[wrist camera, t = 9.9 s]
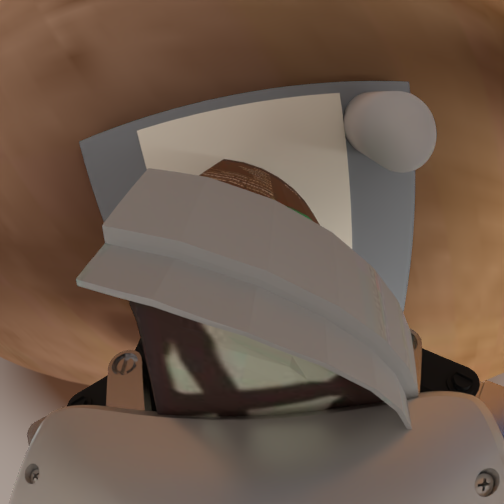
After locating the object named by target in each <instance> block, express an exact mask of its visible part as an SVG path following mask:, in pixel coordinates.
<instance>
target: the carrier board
mask: <svg viewBox="0 0 504 504" xmlns="http://www.w3.org/2000/svg"><path fill="white" fill-rule="evenodd" d="M436 137H437V131H436V124H435V121H434V118H433V115H432V113H431V111H430V110H429V108H428V107H427V106H426V104H425V103H424V102H423V101H422V100H420V99H419V98H418V97H416V96H414V95H413V94H410V86H409V82H403V81H349V82H329V83H316V84H305V85H295V86H287V87H279V88H271V89H265V90H258V91H252V92H246V93H241V94H235V95H230V96H225V97H220V98H216V99H211V100H207V101H202V102H198V103H194V104H190V105H186V106H182V107H179V108H175V109H171V110H168V111H164V112H161V113H157V114H154V115H151V116H148V117H144V118H141V119H138V120H135V121H132V122H129V123H126V124H123V125H121V126H118V127H115V128H112V129H110V130H107V131H104V132H102V133H99V134H97V135H94V136H92V137H89V138H87V139H84V140H82V141H79V144H80V148H81V151H82V155H83V159H84V162H85V166H86V169H87V172H88V176H89V179H90V182H91V185H92V189H93V192H94V195H95V198H96V201H97V204H98V207H99V210H100V213H101V215H102V218H103V221H104V222H105V221H106V219H107V218H108V217H109V215H110V214H111V213H112V212H113V210H114V209H115V208H116V206H117V205H118V204H119V203H120V201H121V200H122V199H123V198H124V196H125V195H126V194H127V193H128V192H129V190H130V189H131V188H132V187H133V186H134V184H135V183H136V182H137V181H138V180H139V178H140V177H141V176H142V175H143V174H144V173H145V172H146V170H147V169H148V168H152V169H159V170H166V171H173V172H180V173H186V174H192V175H198V176H199V175H200V174H202V173H203V172H204V171H206V170H208V169H209V168H211V167H212V166H214V165H215V164H217V163H218V162H220V161H221V160H223V159H228V160H234V161H240V162H245V163H248V164H251V165H254V166H257V167H259V168H262V169H264V170H266V171H268V172H270V173H272V174H274V175H275V176H277V177H279V178H280V179H282V180H283V181H284V182H286V183H287V184H288V185H289V186H291V187H292V188H293V189H294V190H295V191H296V192H297V193H298V194H299V195H300V196H301V197H302V198H303V199H304V200H305V202H306V203H307V205H308V206H309V208H310V209H311V211H312V212H313V214H314V216H315V217H316V219H317V221H318V223H319V224H320V226H322V227H324V228H325V229H327V230H329V231H331V232H332V233H333V234H335V235H336V236H337V237H338V238H339V239H341V240H342V241H343V242H344V243H345V244H347V245H348V246H349V247H350V248H351V249H352V250H354V251H355V252H356V253H357V254H358V255H359V256H361V257H362V258H363V259H364V260H365V261H366V262H367V263H369V264H370V265H371V266H372V267H373V268H374V269H375V271H376V272H377V273H378V274H379V276H380V277H381V278H382V280H383V281H384V282H385V284H386V285H387V286H388V288H389V289H390V291H391V292H392V293H393V295H394V296H395V297H396V299H397V300H398V302H399V304H400V307H401V309H402V311H404V305H405V299H406V293H407V286H408V279H409V271H410V262H411V253H412V242H413V228H414V210H415V170H416V169H418V168H419V167H421V166H422V165H423V164H425V163H426V161H427V160H428V159H429V158H430V156H431V154H432V152H433V150H434V147H435V144H436Z"/></svg>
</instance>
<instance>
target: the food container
mask: <svg viewBox="0 0 504 504" xmlns="http://www.w3.org/2000/svg"><path fill="white" fill-rule="evenodd" d="M102 228H103V234H104V240H105V244H104V245H103V246H102V248H101V249H100V250H99V251H98V252H97V253H96V255H95V256H94V257H93V258H92V259H91V261H90V262H89V263H88V264H87V265H86V267H85V268H84V269H83V270H82V272H81V273H80V274H79V275H78V277H77V278H76V282H77V286H80V287H83V288H87V289H90V290H93V291H97V292H100V293H104V294H107V295H111V296H114V297H118V298H122V299H125V300H129V302H130V306H131V309H132V311H133V314H134V316H135V319H136V321H137V325H138V329H139V333H140V336H141V340H142V344H143V349H144V354H145V359H146V363H147V368H148V373H149V377H150V381H151V386H152V391H153V396H154V401H155V405H156V410H157V414H159V415H173V416H200V417H227V416H259V415H277V414H291V413H302V412H312V411H320V410H327V409H333V408H339V407H348V406H356V405H367V404H375V403H384V402H385V403H386V404H388V405H389V406H390V407H391V408H393V409H394V410H395V411H396V412H397V413H398V415H399V416H400V418H401V420H402V422H403V423H404V425H405V427H406V428H407V429H412V426H411V419H410V414H409V408H408V402H407V399H408V398H413V397H418V383H417V374H416V365H415V358H414V350H413V344H412V337H411V332H410V329H409V326H408V324H407V321H406V319H405V316H404V314H403V311H402V309H401V307H400V304H399V302H398V300H397V299H396V297H395V296H394V295H393V293H392V292H391V291H390V289H389V288H388V286H387V285H386V284H385V282H384V281H383V280H382V278H381V277H380V276H379V274H378V273H377V272H376V271H375V269H374V268H373V267H372V266H371V265H370V264H369V263H367V262H366V261H365V260H364V259H363V258H362V257H361V256H359V255H358V254H357V253H356V252H355V251H354V250H352V249H351V248H350V247H349V246H348V245H347V244H345V243H344V242H343V241H342V240H341V239H339V238H338V237H337V236H336V235H335V234H333V233H332V232H331V231H329V230H327V229H325V228H324V227H322V226H320V224H319V223H318V221H317V219H316V217H315V216H314V214H313V212H312V211H311V209H310V208H309V206H308V205H307V203H306V202H305V200H304V199H303V198H302V197H301V196H300V195H299V194H298V193H297V192H296V191H295V190H294V189H293V188H292V187H291V186H289V185H288V184H287V183H286V182H284V181H283V180H282V179H280V178H279V177H277V176H275V175H274V174H272V173H270V172H268V171H266V170H264V169H262V168H259V167H257V166H254V165H251V164H248V163H245V162H240V161H234V160H228V159H223V160H221V161H220V162H218V163H217V164H215V165H214V166H212V167H211V168H209V169H208V170H206V171H204V172H203V173H202V174H200V175H199V176H198V175H192V174H186V173H180V172H173V171H166V170H159V169H152V168H148V169H147V170H146V172H145V173H144V174H143V175H142V176H141V177H140V178H139V180H138V181H137V182H136V183H135V184H134V186H133V187H132V188H131V189H130V190H129V192H128V193H127V194H126V195H125V196H124V198H123V199H122V200H121V201H120V203H119V204H118V205H117V206H116V208H115V209H114V210H113V212H112V213H111V214H110V215H109V217H108V218H107V219H106V221H105V222H104V223H103V225H102Z"/></svg>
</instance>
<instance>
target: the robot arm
mask: <svg viewBox="0 0 504 504" xmlns="http://www.w3.org/2000/svg"><path fill="white" fill-rule="evenodd" d="M410 332H411V337H412V344H413V350H414V358H415V365H416V374H417V383H418V397H413V398H408V399H407V402H408V408H409V414H410V419H411V426H412V429H407V428H406V427H405V425H404V423H403V422H402V420H401V418H400V416H399V415H398V413H397V412H396V411H395V410H394V409H393V408H391V407H390V406H389V405H388V404H386V403H385V402H384V403H375V404H367V405H356V406H348V407H339V408H333V409H327V410H320V411H312V412H302V413H291V414H277V415H259V416H227V417H200V416H173V415H159V414H157V410H156V405H155V401H154V396H153V391H152V386H151V381H150V377H149V373H148V368H147V363H146V359H145V354H144V349H143V344H142V340H141V338H140V341H139V343H138V345H137V347H136V349H135V350H126V351H123V352H120V353H119V354H117V355H116V356H115V357H114V358H113V359H112V360H111V361H110V363H109V366H108V376H106V377H104V378H103V379H101V380H99V381H98V382H96V383H94V384H93V385H91V386H89V387H87V388H86V389H84V390H82V391H81V392H79V393H77V394H76V395H74V396H73V397H72V398H71V399H70V401H69V403H68V405H67V407H62V408H60V409H57V410H55V411H53V412H51V413H50V414H48V415H47V416H45V417H44V418H42V419H40V420H38V421H36V422H34V423H33V424H32V425H31V426H30V428H29V430H28V433H27V434H28V435H27V437H28V443H29V448H28V450H27V452H26V455H25V457H24V460H23V462H22V465H21V467H20V470H19V473H18V476H17V479H16V482H15V485H14V488H13V491H12V494H11V497H10V501H9V504H504V387H503V386H501V385H498V384H495V383H493V382H490V381H487V380H485V382H484V383H483V382H481V381H479V378H478V376H477V374H476V373H475V372H474V371H473V370H471V369H470V368H468V367H465V366H463V365H461V364H458V363H456V362H453V361H451V360H449V359H446V358H444V357H441V356H439V355H437V354H434V353H432V352H430V351H427V350H425V349H422V341H421V338H420V336H419V335H418V334H417V333H416V332H415V331H414V330H412V329H410Z"/></svg>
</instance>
